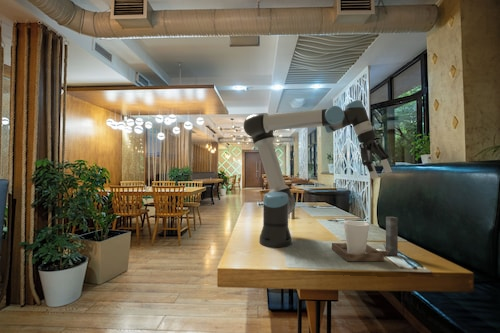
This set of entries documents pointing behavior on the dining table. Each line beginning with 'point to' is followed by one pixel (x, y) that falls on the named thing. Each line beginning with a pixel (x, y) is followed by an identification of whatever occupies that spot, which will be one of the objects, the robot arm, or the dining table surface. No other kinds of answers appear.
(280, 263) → the dining table surface
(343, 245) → the sliding frame
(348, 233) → the foam cup
